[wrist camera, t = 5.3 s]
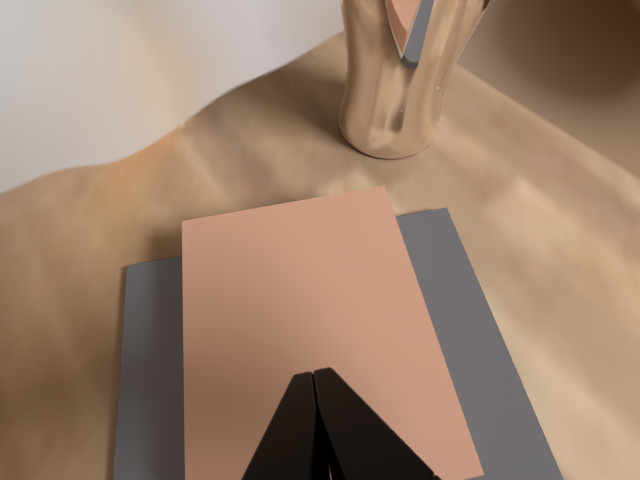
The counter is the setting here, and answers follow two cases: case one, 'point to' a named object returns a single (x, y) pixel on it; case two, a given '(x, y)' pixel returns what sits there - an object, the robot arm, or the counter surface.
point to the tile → (310, 329)
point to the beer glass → (400, 70)
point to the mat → (449, 324)
